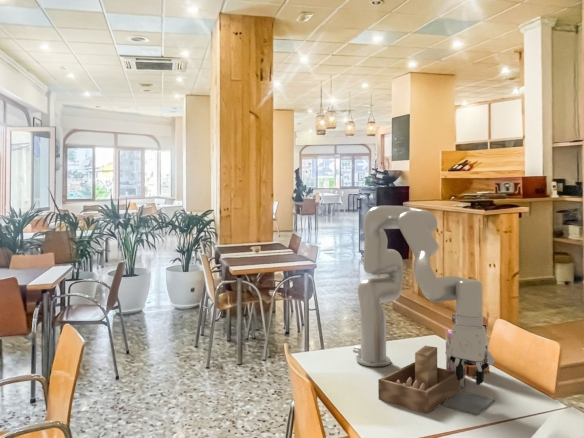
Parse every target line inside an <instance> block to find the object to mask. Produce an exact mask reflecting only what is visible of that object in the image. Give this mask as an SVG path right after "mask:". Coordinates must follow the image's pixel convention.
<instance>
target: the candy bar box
mask: <svg viewBox="0 0 584 438" xmlns="http://www.w3.org/2000/svg"><path fill="white" fill-rule="evenodd" d="M444 333H445V351H446V350H447V349H448V348H449V347H450V341H451V333H452V329H445V331H444ZM462 365H463V374H464V377H463V378H462V379H461V380H460V388H466V379H465V378H466V375H465V360H464V359H463V360H462ZM445 369H447V370H451V371H455V372H456V366H455V365H454V363H453V362H452V360H451V359H450V357H448V356H447V355H446V354H445Z"/></svg>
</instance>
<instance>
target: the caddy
mask: <svg viewBox="0 0 584 438" xmlns="http://www.w3.org/2000/svg"><path fill="white" fill-rule="evenodd" d="M409 377H411V378H412V383H413V384H414V382H415V361H414V362H412V363H410V364H408V365H405V366H403V367H401V368H399V369H398V370H395V371H393V372H391V373H389V374H387V375H385V376H382V377H380V378H379V379H378V382H377V383H378V386H377V387H378V389H377V390H378V400H380V401H384V402H388V403H392V404H395V405H397V406H401V407H404V408H407V409H410V410H414V411H417V412H419V413H423V414H427V415H428V413H430V412H431V411H433V410H435V409H436V408H438V407H439V406H440V405H443V404H444V403H445V402H446V401H448V400H449V399H451V398H452V397H454V396H455V395H457V394H458V393H460V392H461V387H460V380H457V376H456V372H455V371H451V370H447V369H446V368H442V367H438V366H437V384H436V385H434V386H432V387H431V388H429V389H427V390H426V391H424V390H420V389H416V388H413V386H412V387H411V386H408V385H407V386H405V385H402V384H404V383H405V384H406V382H407V380H408V378H409ZM397 380H400V384H398V383H396V381H397ZM401 383H402V384H401ZM412 383H411V384H412Z"/></svg>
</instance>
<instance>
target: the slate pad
mask: <svg viewBox="0 0 584 438" xmlns="http://www.w3.org/2000/svg"><path fill="white" fill-rule="evenodd" d="M495 401H496V398H494V397H489V396H487V395H482V394H477V393H473V392H470V391H465V390H460V392H458V393H457V394H455V395H454V396H452V397H451V398H449V399H448V400H446V401H445V402H443V403H442V405H443V407H447V408H449V409H453V410H456V411H457V410H458V411H460V412H462V413H463V412H464V413H467V414H471V415H474V416H478V415H480V414H481V413H482V412H483V411H485V410H486V409H487V408H488V407H490V406H491V405H492V404H493V403H494V402H495Z"/></svg>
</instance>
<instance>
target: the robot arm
mask: <svg viewBox="0 0 584 438" xmlns="http://www.w3.org/2000/svg"><path fill="white" fill-rule="evenodd" d="M365 213H366V214H365V215H364V218H363V231H364V246H363V270H364V272H365V273H366V274H367V275H369V276H370V275H371V276H378V277H370V278H366V279H363V280H362V281H361V282H360V283H359V284H358V286H357V297H358V301H359V307H360V308H359V309H360V310H359V313H360V346H357V345H355V346H354V347H353V350H352V352H353V353H354V354H358V356H357V357H356V362H357V363H358V364H360V365H363V366H366V367H367V366H368V367H385V366H388V365H389V364H390V363H391V358H390V357H389V356H387V314H386V311H385V309H384V307H383V305H382V303H389V302H393V301H397V300H398V298H400V296H401V293H402V288H403V286H402V285H403V273H404V261H403V257H402V255H401V254H400V252H399V251H397V250H396V249H393V248H388V242H389V241H388V236H387V233H386V231H385V230H391V229H393V230H395V229H399V230H400V232H401V234H402V236H403V238H404V240H405V241H406V243H407V244H408V247H409V249H410V250H411V252H412V254H413V255H414V260H413V276H414V279H415V281H416V282H417V285H418V286H419V287H418V288H420V291H421V292H422V294H423V295H424V297H425V298H426V299H427V300H429V301H430V302H433V303H442V302H447V301H451V302H452V301H455V314H452V315H451V320H452V319H454V320H455V322H456V323H455V324H453V323H452V326H451V327H452V328H451V330H452V333H451V341H450V347H449V348H448V349H447V350H446V349H445V356H446V355H447V356H448V357H450V359H451V360H452V362H453V363H454V365H455V366H456V376H457V380H461V379H462V378H463V377H464V374H463V365H462V360H463V359H464V360H469V361H474V362H476V365H477V369H478V370H477V371H476V377H475V384H476V385H477V386H479V385H480V384H482V383H483V382H484V381H485V374H484V369H486V368H487V367H488V366H489V367H490V366H492V365H494V364H495V363H496V359H495V358H494V357H493V355H492V353H490V351H489V342H488V337H487V335H486V331H487V329H486V330H485V327H484V326H483V316H484V315H483V284H482V282H481V281H480V280H478V279H474V278H473V279H472V278H469V279H468V278H463V277H461V276H456V275H449V276H439V277H437V276H436V274H435V272H434V271H433V269H432V266H431V263H430V262H431V261H430V259H431V257H432V256H434V254H436V252H437V251H438V250H439V247H440V246H439V243H438V242H437V240H436V238H435V237H434V235H433V233H435V231H436V230H437V228H438V220H437V218H436V216H435V215H434V213H432V212H431V211H429V210H425V209H421V208H416V207H412V206H407V205H406V206H404V205H377V206H374V207H371V208H370V209H368V211H367V212H365ZM380 275H382V276H381V277H379V276H380ZM484 359H487V362H486V363H484Z"/></svg>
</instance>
